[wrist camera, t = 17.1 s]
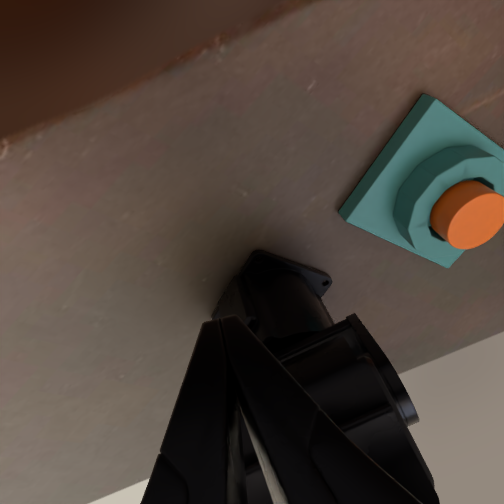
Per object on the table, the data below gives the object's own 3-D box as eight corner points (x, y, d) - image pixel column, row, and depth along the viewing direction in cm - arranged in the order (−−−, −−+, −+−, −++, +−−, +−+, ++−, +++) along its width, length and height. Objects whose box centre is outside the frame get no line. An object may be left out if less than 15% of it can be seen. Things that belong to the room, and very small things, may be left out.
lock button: (498, 193, 23) (521, 207, 21) (454, 241, 24) (473, 257, 23) (460, 169, 21) (483, 183, 20) (417, 222, 23) (434, 238, 21)
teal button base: (521, 166, 25) (560, 186, 23) (438, 259, 28) (464, 284, 26) (422, 92, 21) (458, 107, 18) (337, 212, 24) (358, 237, 22)
